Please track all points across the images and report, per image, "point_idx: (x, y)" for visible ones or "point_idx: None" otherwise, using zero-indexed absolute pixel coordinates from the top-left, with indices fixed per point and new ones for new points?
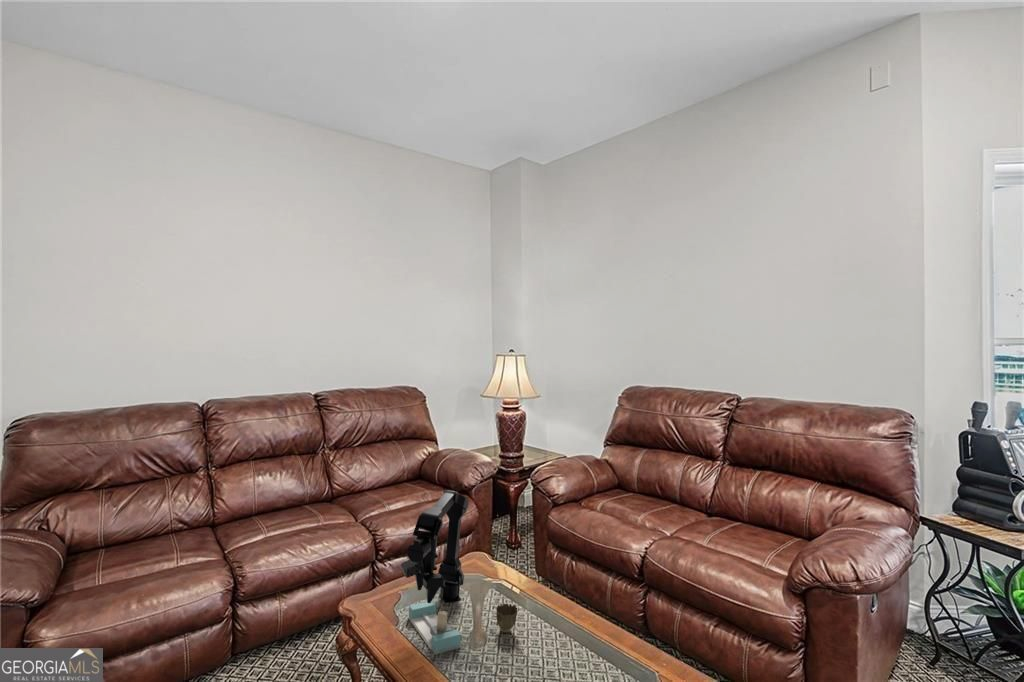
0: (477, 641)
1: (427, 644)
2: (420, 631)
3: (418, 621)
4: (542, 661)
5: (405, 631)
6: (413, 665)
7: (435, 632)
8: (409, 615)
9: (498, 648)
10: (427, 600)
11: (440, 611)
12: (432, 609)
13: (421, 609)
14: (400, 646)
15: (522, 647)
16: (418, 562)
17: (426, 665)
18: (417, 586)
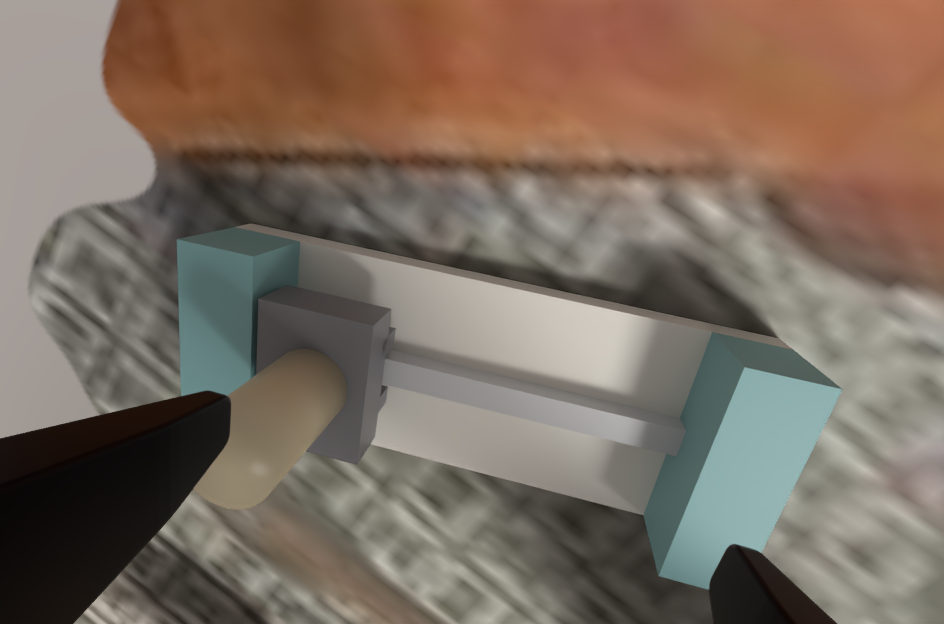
0: (257, 505)
1: (373, 250)
2: (509, 286)
3: (640, 355)
4: None
5: (628, 210)
6: (209, 18)
7: (276, 307)
8: (774, 347)
9: (159, 536)
10: (156, 404)
11: (265, 469)
12: (660, 520)
13: (703, 445)
14: (469, 55)
15: (124, 613)
16: None
17: (174, 106)
18: (789, 603)
